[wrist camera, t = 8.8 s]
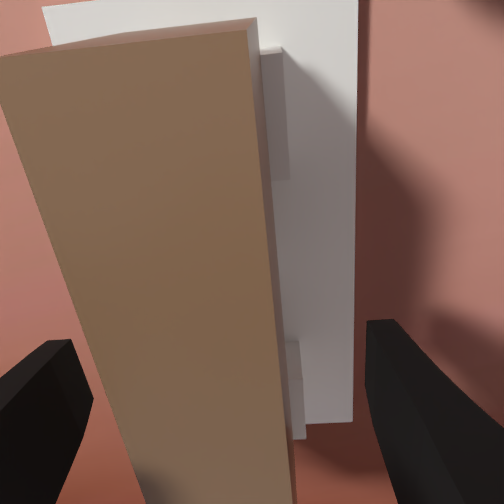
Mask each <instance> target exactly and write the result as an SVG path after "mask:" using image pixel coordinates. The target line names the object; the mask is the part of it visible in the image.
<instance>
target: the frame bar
mask: <svg viewBox="0 0 504 504" xmlns="http://www.w3.org/2000/svg"><path fill="white" fill-rule="evenodd" d="M0 104H1V107H2V110H3V113H4V115H5V118H6V121H7V124H8V126H9V129H10V132H11V135H12V137H13V140H14V143H15V145H16V148H17V151H18V154H19V156H20V159H21V162H22V165H23V167H24V170H25V173H26V176H27V178H28V181H29V184H30V187H31V189H32V192H33V195H34V198H35V200H36V203H37V206H38V208H39V211H40V214H41V217H42V219H43V222H44V225H45V228H46V230H47V233H48V236H49V239H50V241H51V244H52V247H53V250H54V252H55V255H56V258H57V261H58V263H59V266H60V269H61V272H62V274H63V277H64V280H65V282H66V285H67V288H68V291H69V293H70V296H71V299H72V302H73V304H74V307H75V310H76V313H77V315H78V318H79V321H80V324H81V326H82V329H83V332H84V335H85V337H86V340H87V343H88V345H89V348H90V351H91V354H92V356H93V359H94V362H95V365H96V367H97V370H98V373H99V376H100V378H101V381H102V384H103V387H104V389H105V392H106V395H107V398H108V400H109V403H110V406H111V409H112V411H113V414H114V417H115V419H116V422H117V425H118V428H119V430H120V433H121V436H122V439H123V441H124V444H125V447H126V450H127V452H128V455H129V458H130V461H131V463H132V466H133V469H134V472H135V474H136V477H137V480H138V482H139V485H140V488H141V491H142V493H143V496H144V499H145V502H146V504H297V492H296V476H295V459H294V443H293V431H292V420H291V408H290V396H289V385H288V373H287V361H286V350H285V338H284V327H283V315H282V303H281V292H280V280H279V268H278V257H277V245H276V234H275V222H274V210H273V199H272V187H271V176H270V164H269V152H268V141H267V129H266V117H265V106H264V94H263V83H262V71H261V59H260V48H259V36H258V24H257V17H253V18H244V19H236V20H227V21H218V22H210V23H201V24H192V25H184V26H175V27H166V28H158V29H149V30H140V31H132V32H123V33H118V34H112V35H107V36H102V37H97V38H92V39H87V40H81V41H76V42H71V43H66V44H61V45H56V46H50V47H45V48H40V49H35V50H30V51H25V52H19V53H14V54H9V55H4V56H0Z"/></svg>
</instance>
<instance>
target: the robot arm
mask: <svg viewBox="0 0 504 504" xmlns="http://www.w3.org/2000/svg"><path fill="white" fill-rule="evenodd" d="M365 388H366V393H367V398H368V403H369V408H370V413H371V418H372V423H373V427H374V430H375V433H376V436H377V439H378V443H379V446H380V449H381V452H382V455H383V458H384V461H385V465H386V468H387V471H388V474H389V477H390V480H391V483H392V486H393V489H394V492H395V496H396V499H397V502H398V504H504V428H503V427H502V426H501V425H499V424H498V423H497V422H496V421H495V420H494V419H492V418H491V417H490V416H489V415H488V414H487V413H486V412H485V411H483V410H482V409H481V408H480V407H479V406H478V405H477V404H476V403H474V402H473V401H472V400H471V399H470V398H469V397H468V396H467V395H466V394H465V393H464V392H463V391H462V390H461V389H459V388H458V387H457V386H456V385H455V384H454V383H453V382H452V381H451V380H450V379H449V378H448V377H447V376H446V375H445V374H444V373H443V372H442V371H441V370H440V369H439V368H438V367H437V366H436V365H435V364H434V362H433V361H432V360H431V359H430V358H429V357H428V356H427V355H426V354H425V353H424V352H423V351H422V350H421V349H420V348H419V346H418V345H417V344H416V343H415V342H414V341H413V340H412V339H411V338H410V336H409V335H408V334H407V333H406V332H405V331H404V330H403V328H402V327H401V326H400V325H399V324H398V323H397V322H396V321H395V320H394V319H386V320H370V321H367V330H366V363H365ZM93 400H94V398H93V395H92V393H91V390H90V387H89V385H88V382H87V379H86V377H85V374H84V372H83V369H82V366H81V364H80V361H79V359H78V356H77V353H76V351H75V348H74V345H73V343H72V340H71V339H65V340H49V341H46V342H45V343H43V344H42V345H41V346H39V347H38V348H37V349H35V350H34V351H33V352H32V353H30V354H29V355H28V356H26V357H25V358H24V359H23V360H22V361H20V362H19V363H18V364H17V365H15V366H14V367H13V368H12V369H11V370H9V371H8V372H7V373H6V374H4V375H3V376H2V377H1V378H0V504H55V503H56V501H57V499H58V496H59V494H60V492H61V489H62V487H63V485H64V482H65V480H66V478H67V475H68V473H69V471H70V468H71V466H72V463H73V461H74V459H75V456H76V454H77V451H78V449H79V446H80V444H81V441H82V439H83V436H84V433H85V429H86V426H87V422H88V419H89V415H90V411H91V407H92V403H93Z"/></svg>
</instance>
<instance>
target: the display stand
mask: <svg viewBox="0 0 504 504" xmlns="http://www.w3.org/2000/svg"><path fill="white" fill-rule="evenodd" d="M42 10H43V14H44V17H45V21H46V24H47V28H48V31H49V35H50V38H51V41H52V45H53V46H56V45H61V44H66V43H71V42H76V41H81V40H87V39H92V38H97V37H102V36H107V35H112V34H118V33H123V32H132V31H140V30H149V29H158V28H166V27H175V26H184V25H192V24H201V23H210V22H218V21H227V20H236V19H244V18H253V17H257V24H258V36H259V48H260V59H261V71H262V83H263V94H264V106H265V117H266V129H267V141H268V152H269V164H270V176H271V187H272V199H273V210H274V222H275V234H276V245H277V257H278V268H279V280H280V292H281V303H282V315H283V327H284V338H285V350H286V361H287V373H288V385H289V396H290V408H291V420H292V431H293V440H295V439H306V424H318V423H340V422H353V358H354V282H355V206H356V130H357V54H358V0H96V1H87V2H79V3H71V4H62V5H54V6H46V7H42Z"/></svg>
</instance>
